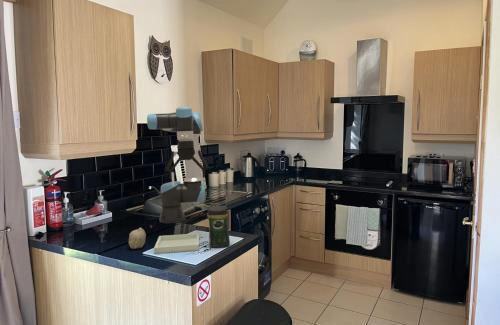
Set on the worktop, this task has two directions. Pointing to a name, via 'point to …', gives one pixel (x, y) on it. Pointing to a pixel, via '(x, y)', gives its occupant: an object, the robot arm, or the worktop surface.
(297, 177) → the worktop surface
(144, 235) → the garlic bulb
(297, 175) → the worktop surface
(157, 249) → the holder dish
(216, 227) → the coffee jar
